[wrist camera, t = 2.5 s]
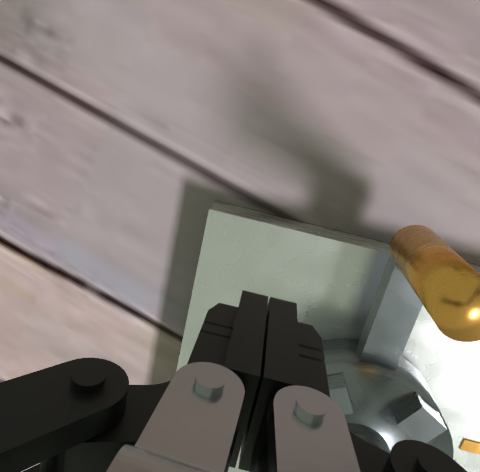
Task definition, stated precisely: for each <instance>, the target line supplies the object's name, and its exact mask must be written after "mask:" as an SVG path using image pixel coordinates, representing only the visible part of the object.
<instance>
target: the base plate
mask: <svg viewBox="0 0 480 472" xmlns="http://www.w3.org/2000/svg"><path fill="white" fill-rule="evenodd" d="M390 255H391V253H390V244H388V243H384V242H380V241H376V240H372V239H368V238H364V237H360V236H356V235H352V234H347V233H343V232H339V231H335V230H331V229H327V228H323V227H319V226H315V225H311V224H307V223H303V222H299V221H295V220H291V219H287V218H282V217H278V216H274V215H270V214H266V213H262V212H258V211H254V210H250V209H246V208H242V207H238V206H234V205H230V204H226V203H221V202H217V201H215V202H214V203H213V204H212V206H211V207H210V208H209V212H208V217H207V222H206V227H205V231H204V236H203V241H202V246H201V251H200V256H199V261H198V266H197V271H196V276H195V281H194V286H193V291H192V295H191V300H190V305H189V310H188V315H187V320H186V325H185V330H184V335H183V340H182V345H181V350H180V355H179V360H178V364H177V369H176V372H177V371H178V370H179V369H180V368H181V367H183V366H185V365H187V363H188V360H189V358H190V355H191V353H192V350H193V348H194V345H195V342H196V340H197V337H198V335H199V332H200V330H201V327H202V325H203V323H204V320H205V317H206V314H207V312H208V310H209V309H210V308H212V307H214V306H215V305H217V304H218V303H223V304H227V305H231V306H235V307H239V303H240V298H241V294H242V290H245V291H249V292H253V293H257V294H261V295H265V296H268V302H269V299H270V297H273V298H278V299H282V300H286V301H290V302H294V303H297V320H298V322H300V323H304V324H308V325H312V326H313V327H314V329H315V330H316V331H317V333H318V334H319V335H320V337H321V338H322V340H329V339H342V338H347V339H360V336H361V333H362V330H363V328H364V325H365V322H366V320H367V317H368V314H369V312H370V309H371V306H372V303H373V301H374V298H375V295H376V293H377V290H378V287H379V284H380V282H381V279H382V276H383V274H384V271H385V268H386V266H387V263H388V260H389V257H390ZM468 264H469V263H468ZM469 265H471V266H472V267H473V268H474V269H475V270H476V271H477V272H478V273H479V274H480V266H478V265H473V264H469ZM402 356H403V357H404V358H405V359H407V360H408V361H409V362H410V363H411V364H413V366H414V367H415V368H416V369H417V370H418V371H419V372H420V373H421V375H422V376H423V378H424V379H425V381H426V383H427V385H428V387H429V389H430V391H431V393H432V395H433V397H434V399H435V401H436V403H437V405H438V407H439V409H440V411H441V414H442V416H443V418H444V420H445V422H446V424H447V426H448V428H449V430H450V434H451V437H452V441H453V449H454V453H453V460H455V461H456V462H457V463H458V464H459V465H460V466H462V467H463V468H464V469H465V470H466V471H467V472H480V340H479V341H474V342H460V341H456V340H453V339H450V338H448V337H447V336H445V335H444V334H443V333H442V332H441V331H440V330H439V328H438V327H437V325H436V324H435V322H434V321H433V319H432V318H431V316H430V315H429V313H428V312H427V310H426V309H425V307H424V306H423V305H422V308H421V310H420V313H419V315H418V317H417V320H416V322H415V325H414V327H413V329H412V332H411V334H410V337H409V339H408V341H407V344H406V346H405V349H404V351H403V353H402ZM240 452H241V448H240ZM240 452H239V456H238V459H237V463H236V467H235V468H233V467H229V469H228V472H249V471H245V470H241V469H238V467H239V460H240Z"/></svg>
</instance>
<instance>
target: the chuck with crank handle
mask: <svg viewBox="0 0 480 472" xmlns="http://www.w3.org/2000/svg"><path fill="white" fill-rule="evenodd" d="M390 253H391V255H390V257H389V260H388V263H387V266H386V268H385V271H384V274H383V276H382V279H381V282H380V284H379V287H378V290H377V293H376V295H375V298H374V301H373V303H372V306H371V309H370V312H369V314H368V317H367V320H366V322H365V325H364V328H363V330H362V333H361V336H360V339H347V338H342V339H329V340H322V345H323V353H324V358H325V362H324V363H325V365H326V372H327V379H328V386H329V392H330V398H331V399H332V400H333V401H334V402H335V403H336V404H337V405H338V406H339V407H340V408H341V410H342V412H343V413H344V416H345V418H346V422H347V426H348V429H349V430H350V431H351V432H352V433H353V434H355V435H356V436H358V437H359V438H361V439H363V440H365V441H366V442H368V443H370V444H372V445H374V446H376V447H378V448H380V449H382V450H384V451H386V452H388V453H390V451H391V449H392V447H393V446H394V444H395V443H397V442H399V441H402V440H417V441H421V442H424V443H427V444H429V445H432V446H434V447H436V448H438V449H439V450H441V451H443V452H444V453H446V454H447V455H449V456H450V457H451V458H452V459H453V453H454V449H453V441H452V437H451V434H450V430H449V428H448V426H447V424H446V422H445V420H444V418H443V416H442V414H441V411H440V409H439V407H438V405H437V403H436V401H435V399H434V397H433V395H432V393H431V391H430V389H429V387H428V385H427V383H426V381H425V379H424V378H423V376H422V375H421V373H420V372H419V371H418V370H417V369H416V368H415V367H414V366H413V364H411V363H410V362H409V361H408V360H407V359H405V358H404V357H403V356H402V353H403V351H404V349H405V346H406V344H407V341H408V339H409V337H410V334H411V332H412V329H413V327H414V325H415V322H416V320H417V317H418V315H419V313H420V310H421V308H422V305H423V306H424V307H425V309H426V310H427V312H428V313H429V315H430V316H431V318H432V319H433V321H434V322H435V324H436V325H437V327H438V328H439V330H440V331H441V332H442V333H443V334H444V335H445V336H447V337H448V338H450V339H453V340H456V341H460V342H474V341H479V340H480V274H479V273H478V272H477V271H476V270H475V269H474V268H473V267H472V266H471V265H469V264H468V263H467V262H466V261H465V260H464V259H463V258H462V257H461V256H459V255H458V254H457V253H456V252H455V251H454V250H453V249H452V248H451V247H450V246H448V245H447V244H446V243H445V242H444V241H443V240H442V239H441V238H440V237H438V236H437V235H436V234H435V233H434V232H433V231H432V230H431V229H429V228H427V227H425V226H421V225H411V226H407V227H405V228H403V229H401V230H400V231H398V232H397V233H396V234H395V236H394V237H393V239H392V241H391V244H390Z"/></svg>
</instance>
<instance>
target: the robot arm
mask: <svg viewBox="0 0 480 472" xmlns="http://www.w3.org/2000/svg"><path fill="white" fill-rule="evenodd" d="M324 362H325V358H324V353H323V345H322V338H321V337H320V335H319V334H318V333H317V331H316V330H315V329H314V327H313V326H312V325H308V324H304V323H300V322H298V320H297V303H294V302H290V301H286V300H282V299H278V298H273V297H270V299H269V302H268V296H265V295H261V294H257V293H253V292H249V291H245V290H242V294H241V298H240V303H239V307H235V306H231V305H227V304H223V303H218V304H217V305H215V306H214V307H212V308H210V309H209V310H208V312H207V314H206V317H205V320H204V323H203V325H202V327H201V330H200V332H199V335H198V337H197V340H196V342H195V345H194V348H193V350H192V353H191V355H190V358H189V360H188V363H187V365H185V366H183V367H181V368H180V369H179V370H178V371H177V372H176V373H175V374H174V376H173V378H172V380H171V381H168V382H166V383H162V384H156V385H129V380H128V376H127V374H126V373H125V371H124V370H123V369H122V368H121V367H120V366H118V365H117V364H115V363H113V362H111V361H108V360H104V359H99V358H81V359H75V360H72V361H68V362H65V363H62V364H59V365H55V366H52V367H49V368H46V369H43V370H40V371H36V372H33V373H30V374H27V375H24V376H20V377H17V378H14V379H11V380H8V381H5V382H1V383H0V472H21V471H23V470H25V469H27V468H29V467H31V466H33V465H36V464H38V463H40V464H38V465H36V466H34V467H32V468H30V469H28V470H25V471H23V472H228V469H229V467H233V468H235V467H236V463H237V459H238V456H239V452H240V448H241V452H240V460H239V467H238V469H241V470H245V471H249V472H467V471H466V470H465V469H464V468H463V467H462V466H460V465H459V464H458V463H457V462H456V461H455V460H453V459H452V458H451V457H450V456H449V455H447V454H446V453H444V452H443V451H441V450H439V449H438V448H436V447H434V446H432V445H429V444H427V443H424V442H421V441H417V440H402V441H399V442H397V443H395V444H394V446H393V447H392V449H391V451H390V453H388V452H386V451H384V450H382V449H380V448H378V447H376V446H374V445H372V444H370V443H368V442H366V441H365V440H363V439H361V438H359V437H358V436H356V435H355V434H353V433H352V432H351V431H350V430H349V429H348V426H347V422H346V418H345V416H344V413H343V412H342V410H341V408H340V407H339V406H338V405H337V404H336V403H335V402H334V401H333V400H332V399H331V398H330V392H329V386H328V379H327V372H326V365H325V363H324Z"/></svg>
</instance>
